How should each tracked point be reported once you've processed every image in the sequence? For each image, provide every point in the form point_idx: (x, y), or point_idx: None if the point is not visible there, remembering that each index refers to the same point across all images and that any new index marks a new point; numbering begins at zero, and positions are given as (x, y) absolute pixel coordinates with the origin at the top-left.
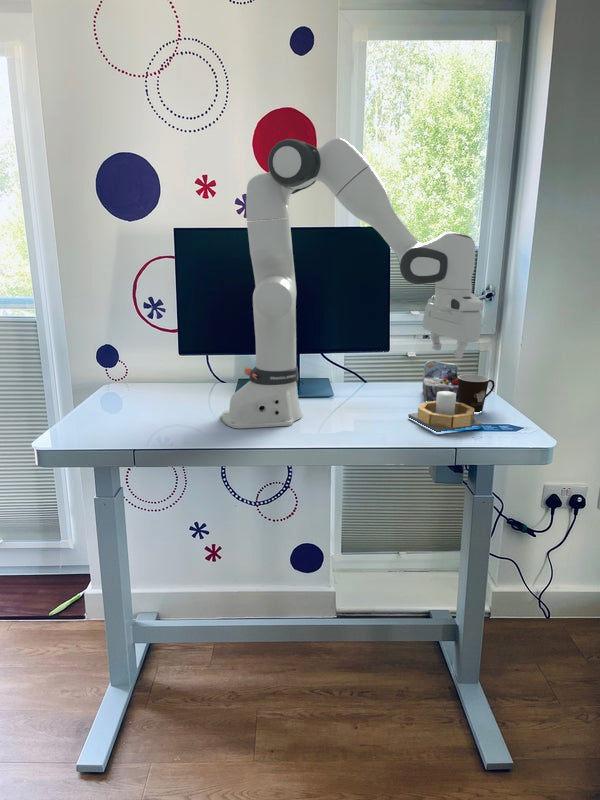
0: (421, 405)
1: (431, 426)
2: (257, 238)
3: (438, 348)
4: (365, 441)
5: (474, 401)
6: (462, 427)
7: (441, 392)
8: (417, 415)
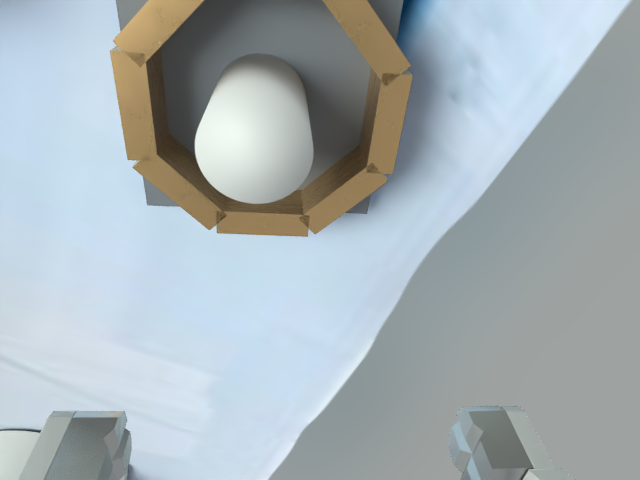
0: (180, 199)
1: None
2: None
3: (116, 441)
4: (303, 380)
5: None
6: None
7: (219, 162)
8: None
